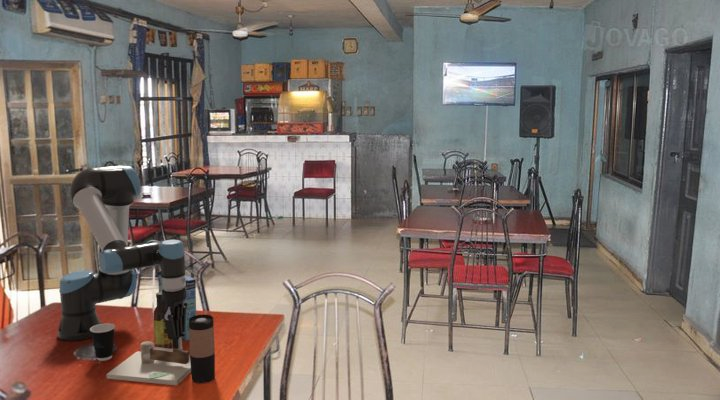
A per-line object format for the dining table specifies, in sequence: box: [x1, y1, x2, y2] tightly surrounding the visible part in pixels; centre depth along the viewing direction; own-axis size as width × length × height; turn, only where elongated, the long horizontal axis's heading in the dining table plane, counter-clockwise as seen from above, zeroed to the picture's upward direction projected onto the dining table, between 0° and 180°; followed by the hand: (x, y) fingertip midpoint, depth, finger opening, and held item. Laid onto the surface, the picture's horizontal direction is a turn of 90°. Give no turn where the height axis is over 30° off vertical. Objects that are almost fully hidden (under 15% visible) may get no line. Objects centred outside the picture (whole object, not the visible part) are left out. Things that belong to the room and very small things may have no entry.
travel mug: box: [188, 314, 216, 384], centre depth 187 cm, size 8×8×20 cm
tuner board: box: [106, 350, 191, 386], centre depth 194 cm, size 24×18×2 cm
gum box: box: [157, 270, 197, 342], centre depth 224 cm, size 20×5×23 cm, turn 47°
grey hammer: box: [140, 340, 190, 364], centre depth 195 cm, size 17×4×6 cm, turn 74°
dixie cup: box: [90, 322, 116, 362], centre depth 202 cm, size 8×8×11 cm
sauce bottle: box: [153, 291, 173, 349], centre depth 212 cm, size 7×6×20 cm
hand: (178, 356), depth 195 cm, fingers closed
